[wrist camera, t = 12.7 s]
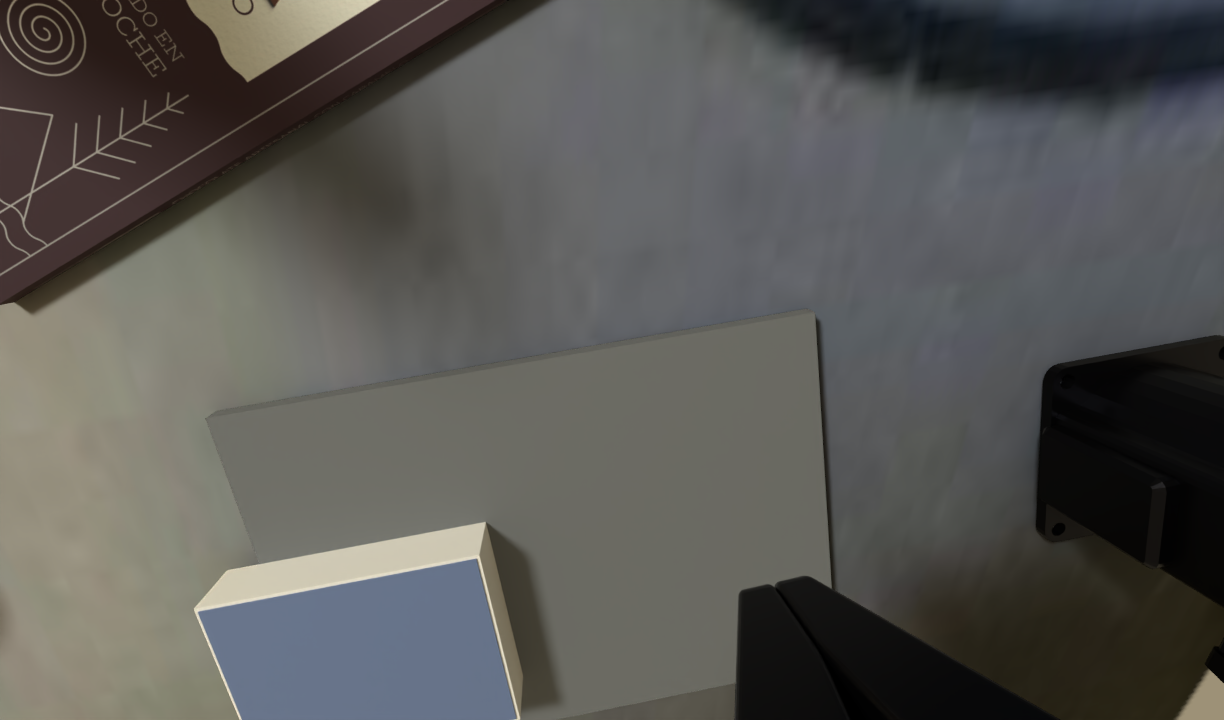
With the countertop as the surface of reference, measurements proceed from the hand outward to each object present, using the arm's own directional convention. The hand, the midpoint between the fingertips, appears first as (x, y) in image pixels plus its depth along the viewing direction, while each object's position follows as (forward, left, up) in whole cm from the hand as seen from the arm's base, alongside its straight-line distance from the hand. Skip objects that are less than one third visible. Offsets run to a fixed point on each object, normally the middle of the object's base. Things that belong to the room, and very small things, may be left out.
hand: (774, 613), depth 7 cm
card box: (+6, +7, -10) cm, 14 cm away
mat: (+4, +6, -12) cm, 14 cm away
